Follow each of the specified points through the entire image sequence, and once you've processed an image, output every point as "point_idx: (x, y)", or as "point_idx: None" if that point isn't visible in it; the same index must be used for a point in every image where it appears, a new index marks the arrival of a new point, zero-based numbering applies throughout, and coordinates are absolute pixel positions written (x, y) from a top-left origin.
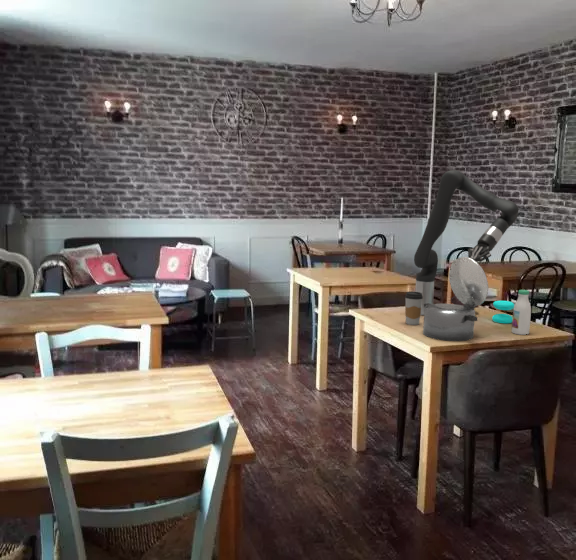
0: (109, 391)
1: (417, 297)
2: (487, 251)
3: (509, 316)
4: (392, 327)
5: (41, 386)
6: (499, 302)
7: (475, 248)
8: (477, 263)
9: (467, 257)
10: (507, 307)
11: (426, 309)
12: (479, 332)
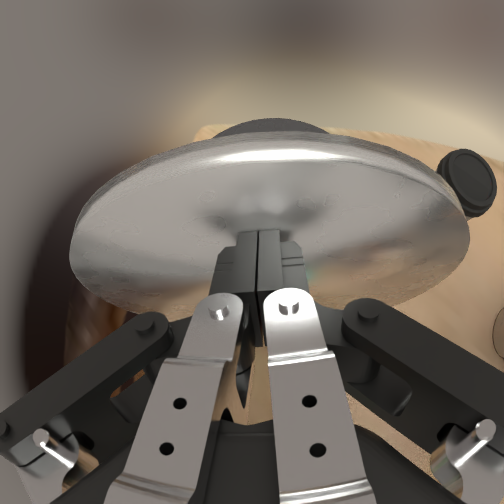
0: None
1: (440, 171)
2: (1, 436)
3: None
4: (395, 142)
5: None
6: None
7: (357, 493)
8: (85, 218)
9: (222, 156)
10: None
11: (294, 121)
12: (262, 355)
